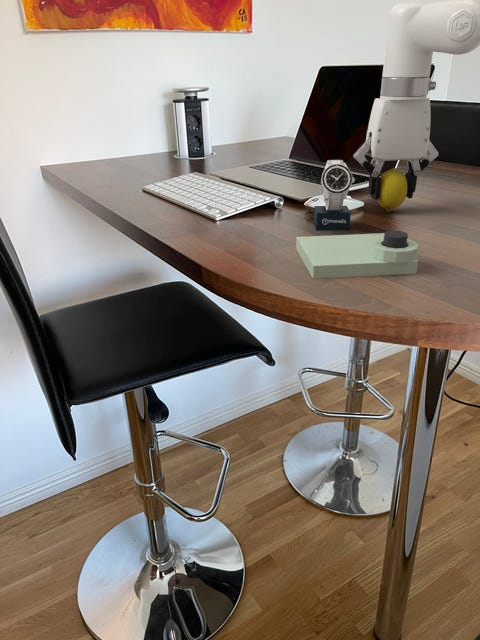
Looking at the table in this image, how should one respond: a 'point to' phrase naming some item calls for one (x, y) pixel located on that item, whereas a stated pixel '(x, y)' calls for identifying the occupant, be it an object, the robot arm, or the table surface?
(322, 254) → the scale
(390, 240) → the button
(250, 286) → the table surface
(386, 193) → the lemon
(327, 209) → the watch
